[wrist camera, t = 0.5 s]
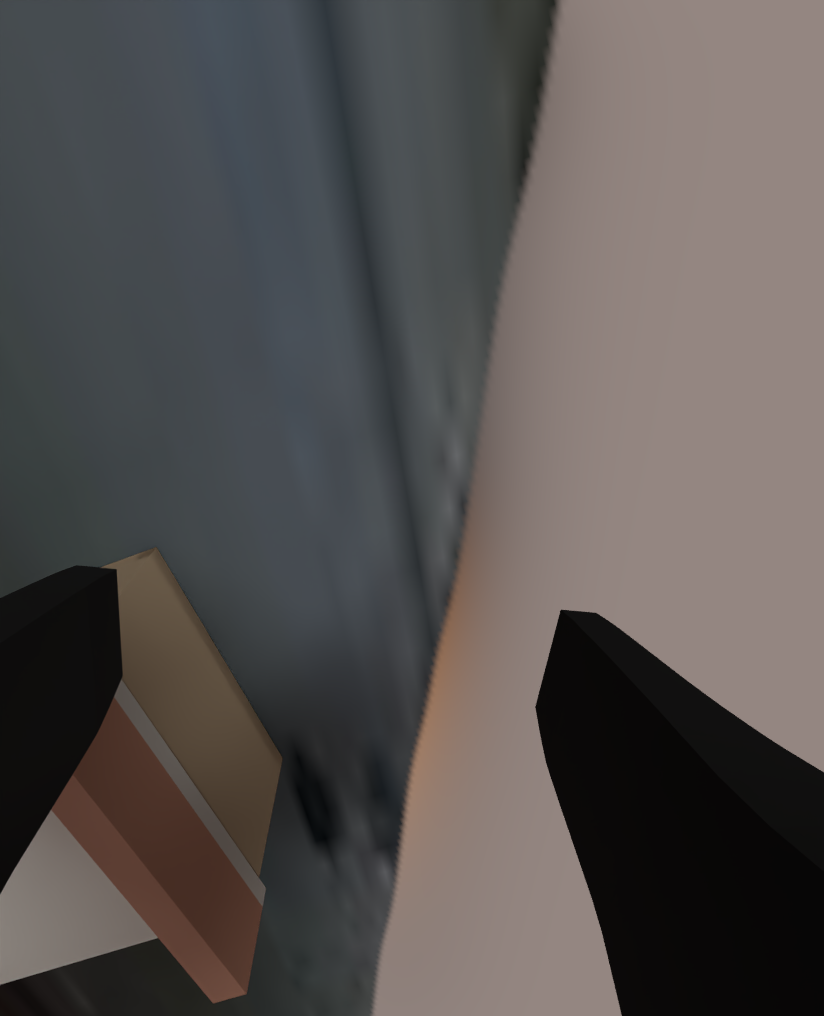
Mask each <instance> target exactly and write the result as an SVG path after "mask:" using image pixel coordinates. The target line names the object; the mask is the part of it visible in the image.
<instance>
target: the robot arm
mask: <svg viewBox="0 0 824 1016" xmlns="http://www.w3.org/2000/svg"><path fill="white" fill-rule="evenodd" d="M122 677H123V669H122V652H121V634H120V617H119V600H118V583H117V569H110V568H99V567H88V566H77V565H76V566H74V567H71V568H68V569H65V570H62V571H60V572H57V573H55V574H53V575H50V576H48V577H46V578H43V579H41V580H39V581H37V582H35V583H32V584H30V585H28V586H26V587H24V588H21V589H19V590H17V591H15V592H13V593H11V594H9V595H6V596H4V597H2V598H0V894H1V892H2V890H3V889H4V887H5V885H6V883H7V881H8V880H9V878H10V876H11V874H12V873H13V871H14V869H15V868H16V866H17V864H18V863H19V861H20V859H21V858H22V856H23V855H24V853H25V851H26V850H27V848H28V846H29V845H30V843H31V842H32V840H33V838H34V837H35V835H36V833H37V832H38V830H39V829H40V827H41V825H42V824H43V822H44V820H45V819H46V817H47V816H48V814H49V812H50V811H51V809H52V807H53V806H54V804H55V803H56V801H57V799H58V798H59V796H60V795H61V793H62V791H63V790H64V788H65V786H66V785H67V783H68V782H69V780H70V778H71V777H72V775H73V773H74V772H75V770H76V768H77V767H78V765H79V763H80V762H81V760H82V758H83V757H84V755H85V753H86V752H87V750H88V748H89V747H90V745H91V743H92V742H93V740H94V738H95V737H96V735H97V733H98V731H99V729H100V727H101V725H102V723H103V720H104V718H105V716H106V714H107V712H108V709H109V707H110V705H111V703H112V700H113V698H114V696H115V693H116V691H117V688H118V686H119V684H120V681H121V679H122ZM535 708H536V713H537V719H538V724H539V730H540V735H541V740H542V745H543V750H544V754H545V759H546V763H547V767H548V770H549V773H550V776H551V779H552V782H553V785H554V788H555V791H556V794H557V797H558V800H559V803H560V806H561V809H562V812H563V815H564V818H565V821H566V824H567V827H568V830H569V832H570V835H571V839H572V841H573V844H574V847H575V850H576V853H577V856H578V859H579V862H580V865H581V868H582V871H583V874H584V877H585V880H586V882H587V885H588V888H589V891H590V894H591V897H592V900H593V903H594V907H595V910H596V914H597V917H598V920H599V924H600V927H601V931H602V934H603V938H604V943H605V947H606V951H607V955H608V959H609V964H610V967H611V972H612V976H613V980H614V984H615V989H616V993H617V997H618V1001H619V1005H620V1010H621V1014H622V1016H824V772H822V771H821V770H819V769H817V768H816V767H814V766H812V765H811V764H809V763H807V762H806V761H804V760H802V759H801V758H799V757H797V756H796V755H794V754H792V753H791V752H789V751H788V750H786V749H784V748H783V747H781V746H780V745H778V744H776V743H775V742H773V741H772V740H770V739H769V738H767V737H766V736H764V735H763V734H761V733H760V732H758V731H757V730H755V729H754V728H752V727H751V726H749V725H748V724H747V723H745V722H744V721H742V720H741V719H739V718H738V717H736V716H735V715H734V714H732V713H731V712H729V711H728V710H726V709H725V708H723V707H722V706H721V705H719V704H718V703H717V702H715V701H714V700H712V699H711V698H710V697H708V696H707V695H706V694H704V693H702V692H701V691H700V690H699V689H697V688H696V687H695V686H693V685H692V684H691V683H689V682H688V681H687V680H685V679H684V678H683V677H681V676H680V675H679V674H677V673H676V672H675V671H674V670H672V669H671V668H670V667H668V666H667V665H666V664H664V663H663V662H662V661H661V660H659V659H658V658H657V657H655V656H654V655H653V654H651V653H650V652H649V651H648V650H646V649H645V648H644V647H643V646H641V645H640V644H639V643H637V642H636V641H635V640H634V639H632V638H631V637H630V636H628V635H627V634H626V633H624V632H623V631H622V630H620V629H619V628H617V627H616V626H615V625H613V624H612V623H610V622H609V621H608V620H606V619H605V618H603V617H602V616H600V615H599V614H597V613H590V612H580V611H569V610H561V611H560V615H559V619H558V623H557V626H556V630H555V634H554V638H553V642H552V645H551V649H550V653H549V657H548V661H547V665H546V668H545V672H544V676H543V680H542V684H541V688H540V691H539V695H538V699H537V703H536V707H535Z"/></svg>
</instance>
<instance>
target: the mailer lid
mask: <svg viewBox="0 0 824 1016" xmlns="http://www.w3.org/2000/svg"><path fill="white" fill-rule="evenodd" d="M265 891H266V888H265V886H264V885H263V883H262V882H261V880H260V879H259V878H258V876H257V875H256V873H255V872H254V870H253V869H252V867H251V866H250V864H249V863H248V862H247V860H246V859H245V857H244V856H243V854H242V853H241V851H240V850H239V849H238V847H237V846H236V844H235V843H234V841H233V840H232V838H231V837H230V836H229V834H228V833H227V831H226V830H225V828H224V827H223V825H222V824H221V822H220V821H219V820H218V818H217V817H216V815H215V814H214V812H213V811H212V809H211V808H210V807H209V805H208V804H207V802H206V801H205V799H204V798H203V796H202V795H201V794H200V792H199V791H198V789H197V788H196V786H195V785H194V783H193V782H192V781H191V779H190V778H189V776H188V775H187V773H186V772H185V770H184V769H183V767H182V766H181V765H180V763H179V762H178V760H177V759H176V757H175V756H174V754H173V753H172V752H171V750H170V749H169V747H168V746H167V744H166V743H165V741H164V740H163V739H162V737H161V736H160V734H159V733H158V731H157V730H156V728H155V727H154V725H153V724H152V723H151V721H150V720H149V718H148V717H147V715H146V714H145V712H144V711H143V710H142V708H141V707H140V705H139V704H138V702H137V701H136V699H135V698H134V697H133V695H132V694H131V692H130V691H129V689H128V688H127V686H126V685H125V683H124V682H123V681H122V679H121V681H120V684H119V686H118V688H117V691H116V693H115V696H114V698H113V700H112V703H111V705H110V707H109V709H108V712H107V714H106V716H105V718H104V720H103V723H102V725H101V727H100V729H99V731H98V733H97V735H96V737H95V738H94V740H93V742H92V743H91V745H90V747H89V748H88V750H87V752H86V753H85V755H84V757H83V758H82V760H81V762H80V763H79V765H78V767H77V768H76V770H75V772H74V773H73V775H72V777H71V778H70V780H69V782H68V783H67V785H66V786H65V788H64V790H63V791H62V793H61V795H60V796H59V798H58V799H57V801H56V803H55V804H54V806H53V807H52V809H51V811H50V812H49V814H48V816H47V817H46V819H45V820H44V822H43V824H42V825H41V827H40V829H39V830H38V832H37V833H36V835H35V837H34V838H33V840H32V842H31V843H30V845H29V846H28V848H27V850H26V851H25V853H24V855H23V856H22V858H21V859H20V861H19V863H18V864H17V866H16V868H15V869H14V871H13V873H12V874H11V876H10V878H9V880H8V881H7V883H6V885H5V887H4V889H3V890H2V892H1V894H0V985H1V984H4V983H7V982H11V981H14V980H17V979H21V978H24V977H28V976H31V975H34V974H38V973H41V972H44V971H48V970H51V969H55V968H58V967H61V966H65V965H68V964H71V963H75V962H78V961H82V960H85V959H88V958H92V957H95V956H99V955H102V954H105V953H109V952H112V951H115V950H119V949H122V948H126V947H129V946H132V945H136V944H139V943H142V942H146V941H149V940H153V939H156V938H159V939H160V940H161V942H162V943H163V944H164V945H165V946H166V948H167V949H168V950H169V951H170V952H171V954H172V955H173V956H174V957H175V958H176V960H177V961H178V962H179V963H180V964H181V966H182V967H183V968H184V969H185V970H186V972H187V973H188V974H189V975H190V976H191V978H192V979H193V980H194V981H195V982H196V983H197V985H198V986H199V987H200V988H201V989H202V991H203V992H204V993H205V994H206V995H207V997H208V998H209V999H210V1000H211V1001H212V1003H216V1002H220V1001H223V1000H227V999H231V998H234V997H238V996H241V995H245V994H247V989H248V983H249V978H250V972H251V967H252V962H253V956H254V951H255V945H256V940H257V934H258V929H259V923H260V918H261V913H262V907H263V902H264V896H265Z"/></svg>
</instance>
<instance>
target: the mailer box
mask: <svg viewBox="0 0 824 1016" xmlns="http://www.w3.org/2000/svg"><path fill="white" fill-rule="evenodd" d="M100 568H110V569H117V583H118V600H119V617H120V634H121V652H122V669H123V677H122V681H123V682H124V683H125V685H126V686H127V688H128V689H129V691H130V692H131V694H132V695H133V697H134V698H135V699H136V701H137V702H138V704H139V705H140V707H141V708H142V710H143V711H144V712H145V714H146V715H147V717H148V718H149V720H150V721H151V723H152V724H153V725H154V727H155V728H156V730H157V731H158V733H159V734H160V736H161V737H162V739H163V740H164V741H165V743H166V744H167V746H168V747H169V749H170V750H171V752H172V753H173V754H174V756H175V757H176V759H177V760H178V762H179V763H180V765H181V766H182V767H183V769H184V770H185V772H186V773H187V775H188V776H189V778H190V779H191V781H192V782H193V783H194V785H195V786H196V788H197V789H198V791H199V792H200V794H201V795H202V796H203V798H204V799H205V801H206V802H207V804H208V805H209V807H210V808H211V809H212V811H213V812H214V814H215V815H216V817H217V818H218V820H219V821H220V822H221V824H222V825H223V827H224V828H225V830H226V831H227V833H228V834H229V836H230V837H231V838H232V840H233V841H234V843H235V844H236V846H237V847H238V849H239V850H240V851H241V853H242V854H243V856H244V857H245V859H246V860H247V862H248V863H249V864H250V866H251V867H252V869H253V870H254V872H255V873H256V875H257V876H258V877H259V876H260V871H261V865H262V860H263V855H264V850H265V845H266V840H267V835H268V830H269V825H270V820H271V815H272V810H273V805H274V800H275V795H276V790H277V785H278V779H279V774H280V769H281V764H282V759H283V758H282V756H281V755H280V753H279V751H278V750H277V748H276V746H275V745H274V743H273V741H272V740H271V738H270V736H269V735H268V733H267V731H266V729H265V728H264V726H263V724H262V723H261V721H260V719H259V718H258V716H257V714H256V713H255V711H254V709H253V708H252V706H251V704H250V703H249V701H248V699H247V698H246V696H245V694H244V693H243V691H242V689H241V688H240V686H239V684H238V683H237V681H236V679H235V678H234V676H233V674H232V673H231V671H230V669H229V668H228V666H227V664H226V663H225V661H224V659H223V658H222V656H221V654H220V653H219V651H218V649H217V648H216V646H215V644H214V643H213V641H212V639H211V638H210V636H209V634H208V632H207V631H206V629H205V627H204V626H203V624H202V622H201V621H200V619H199V617H198V616H197V614H196V612H195V611H194V609H193V607H192V606H191V604H190V602H189V601H188V599H187V597H186V596H185V594H184V592H183V591H182V589H181V587H180V586H179V584H178V582H177V581H176V579H175V577H174V576H173V574H172V572H171V571H170V569H169V567H168V566H167V564H166V562H165V561H164V559H163V557H162V556H161V554H160V552H159V551H158V549H157V547H155V548H152V549H150V550H147V551H144V552H141V553H139V554H136V555H133V556H130V557H128V558H125V559H122V560H119V561H117V562H114V563H111V564H108V565H106V566H103V567H100Z"/></svg>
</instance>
